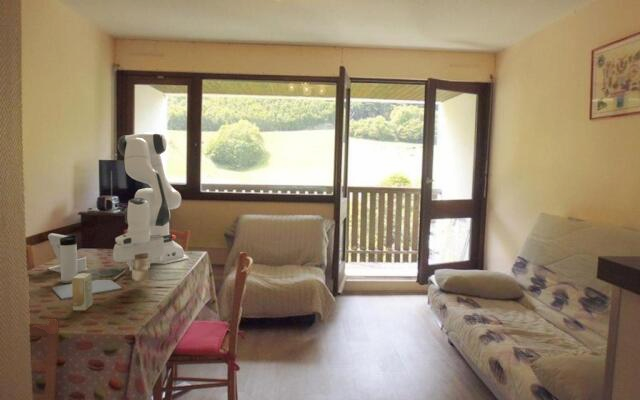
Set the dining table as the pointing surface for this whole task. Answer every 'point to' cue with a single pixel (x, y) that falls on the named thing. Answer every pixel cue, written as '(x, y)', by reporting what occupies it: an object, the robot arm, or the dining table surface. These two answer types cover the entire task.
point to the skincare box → (82, 291)
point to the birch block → (140, 267)
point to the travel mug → (68, 258)
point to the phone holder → (55, 240)
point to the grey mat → (97, 287)
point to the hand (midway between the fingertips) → (139, 269)
